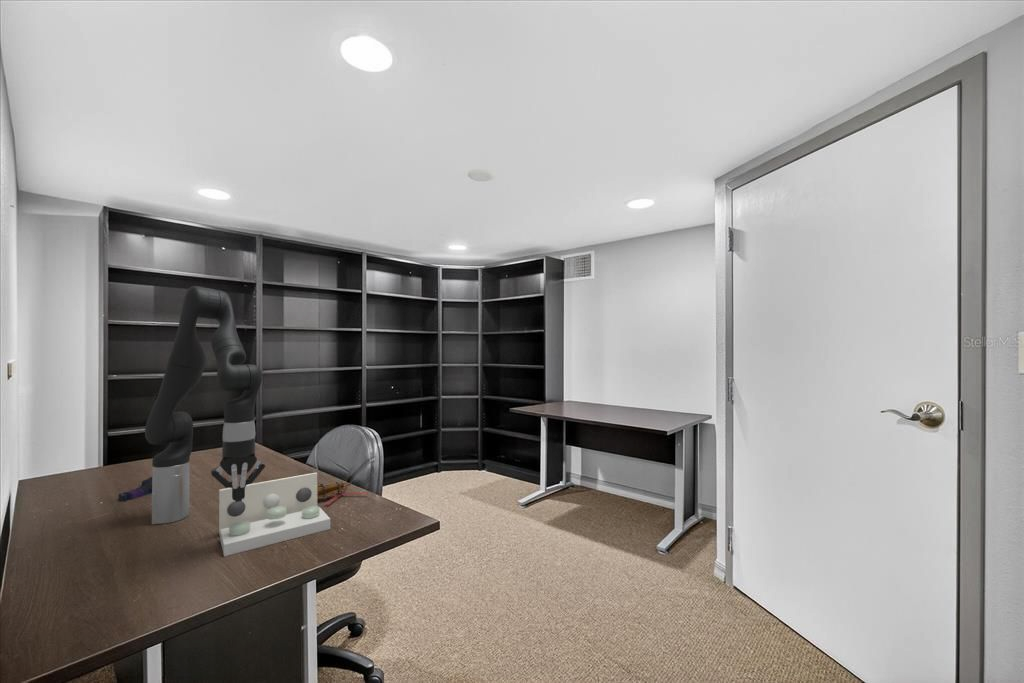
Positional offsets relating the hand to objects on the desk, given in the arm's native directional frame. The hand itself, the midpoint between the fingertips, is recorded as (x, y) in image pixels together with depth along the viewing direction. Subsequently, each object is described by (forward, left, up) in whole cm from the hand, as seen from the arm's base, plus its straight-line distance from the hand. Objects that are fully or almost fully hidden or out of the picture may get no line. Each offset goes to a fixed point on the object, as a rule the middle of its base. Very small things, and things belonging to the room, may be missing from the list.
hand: (238, 500), depth 116 cm
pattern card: (+9, +9, -12) cm, 18 cm away
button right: (+18, 0, -9) cm, 20 cm away
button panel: (+9, 0, -12) cm, 15 cm away
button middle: (+9, 0, -6) cm, 11 cm away
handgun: (-24, +77, -12) cm, 81 cm away
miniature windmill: (+25, +21, -12) cm, 35 cm away
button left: (0, 0, -9) cm, 9 cm away
